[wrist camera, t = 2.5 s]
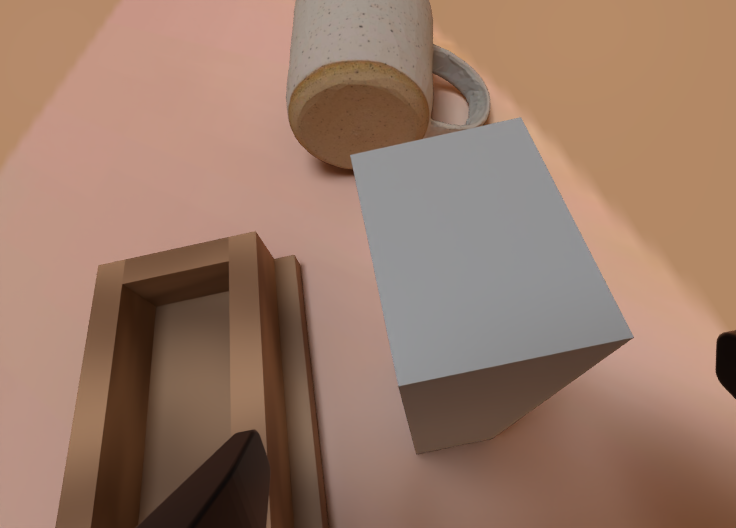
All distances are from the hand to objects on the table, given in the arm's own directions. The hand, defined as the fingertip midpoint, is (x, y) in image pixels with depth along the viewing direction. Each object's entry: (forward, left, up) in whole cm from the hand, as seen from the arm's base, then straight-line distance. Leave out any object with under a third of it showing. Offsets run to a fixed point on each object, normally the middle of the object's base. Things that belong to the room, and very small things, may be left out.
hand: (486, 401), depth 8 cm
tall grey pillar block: (+2, -1, -9) cm, 10 cm away
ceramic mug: (+16, -7, -10) cm, 20 cm away
